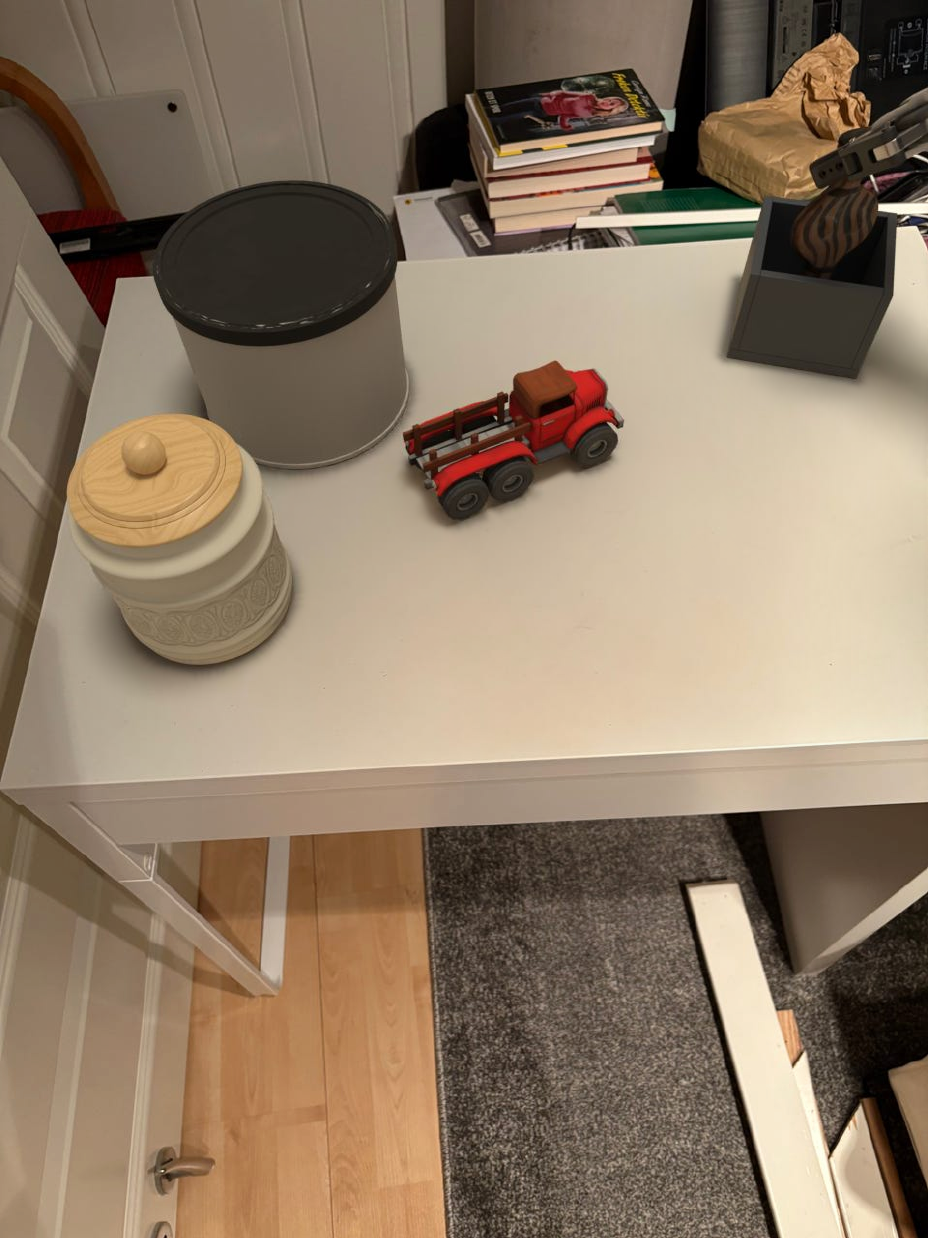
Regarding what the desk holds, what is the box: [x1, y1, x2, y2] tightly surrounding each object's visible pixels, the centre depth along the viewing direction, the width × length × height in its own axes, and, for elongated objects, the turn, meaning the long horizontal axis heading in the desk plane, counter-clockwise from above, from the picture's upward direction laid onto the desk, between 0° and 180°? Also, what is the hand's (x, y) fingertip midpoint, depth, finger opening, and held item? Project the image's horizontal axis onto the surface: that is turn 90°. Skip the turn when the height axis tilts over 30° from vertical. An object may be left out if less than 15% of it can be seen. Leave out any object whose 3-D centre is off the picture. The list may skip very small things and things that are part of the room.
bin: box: [726, 195, 898, 379], centre depth 80 cm, size 12×12×9 cm
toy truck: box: [402, 360, 625, 521], centre depth 73 cm, size 8×18×8 cm, turn 117°
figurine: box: [789, 126, 879, 280], centre depth 75 cm, size 7×5×18 cm
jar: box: [66, 413, 293, 666], centre depth 62 cm, size 13×13×18 cm
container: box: [152, 179, 410, 470], centre depth 75 cm, size 19×19×15 cm
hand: (829, 165), depth 72 cm, fingers closed on figurine, 3 cm apart
